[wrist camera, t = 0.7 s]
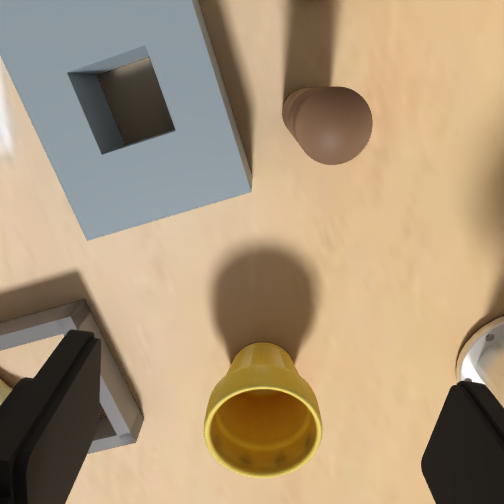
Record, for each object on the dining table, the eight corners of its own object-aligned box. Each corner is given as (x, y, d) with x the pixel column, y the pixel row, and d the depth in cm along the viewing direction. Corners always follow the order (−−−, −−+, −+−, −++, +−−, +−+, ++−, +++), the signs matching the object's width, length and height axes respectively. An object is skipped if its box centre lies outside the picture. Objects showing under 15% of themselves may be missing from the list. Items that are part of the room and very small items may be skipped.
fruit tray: (84, 299, 43) (70, 316, 40) (144, 419, 49) (135, 442, 46) (-101, 351, 46) (-129, 371, 43) (-25, 459, 51) (-45, 484, 48)
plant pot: (230, 313, 44) (222, 372, 35) (324, 340, 45) (341, 405, 36) (203, 391, 47) (190, 463, 38) (291, 415, 48) (298, 491, 39)
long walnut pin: (322, 81, 36) (364, 76, 22) (333, 128, 37) (379, 152, 23) (276, 96, 36) (288, 100, 22) (289, 142, 38) (307, 173, 24)
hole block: (183, -48, 33) (168, -76, 27) (252, 176, 39) (251, 191, 33) (20, 13, 34) (-27, -2, 29) (110, 219, 40) (87, 240, 35)
